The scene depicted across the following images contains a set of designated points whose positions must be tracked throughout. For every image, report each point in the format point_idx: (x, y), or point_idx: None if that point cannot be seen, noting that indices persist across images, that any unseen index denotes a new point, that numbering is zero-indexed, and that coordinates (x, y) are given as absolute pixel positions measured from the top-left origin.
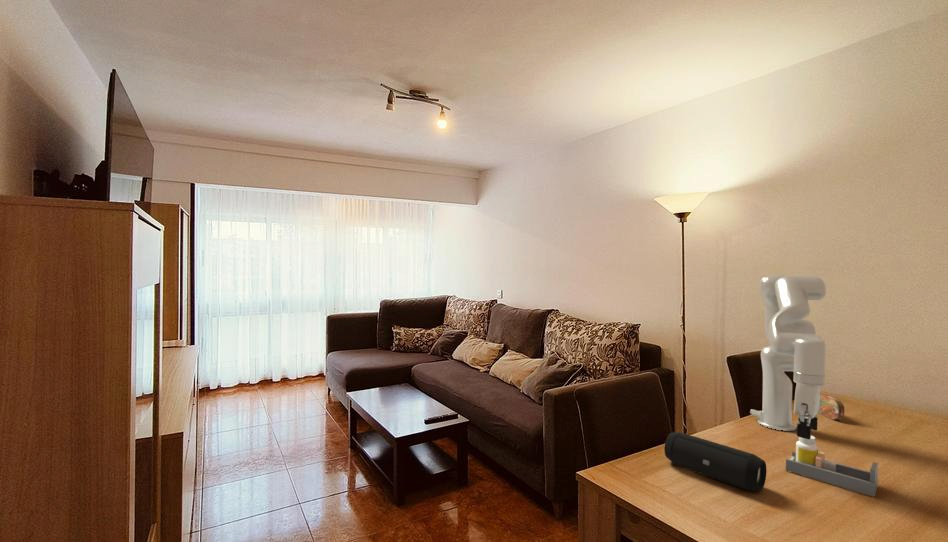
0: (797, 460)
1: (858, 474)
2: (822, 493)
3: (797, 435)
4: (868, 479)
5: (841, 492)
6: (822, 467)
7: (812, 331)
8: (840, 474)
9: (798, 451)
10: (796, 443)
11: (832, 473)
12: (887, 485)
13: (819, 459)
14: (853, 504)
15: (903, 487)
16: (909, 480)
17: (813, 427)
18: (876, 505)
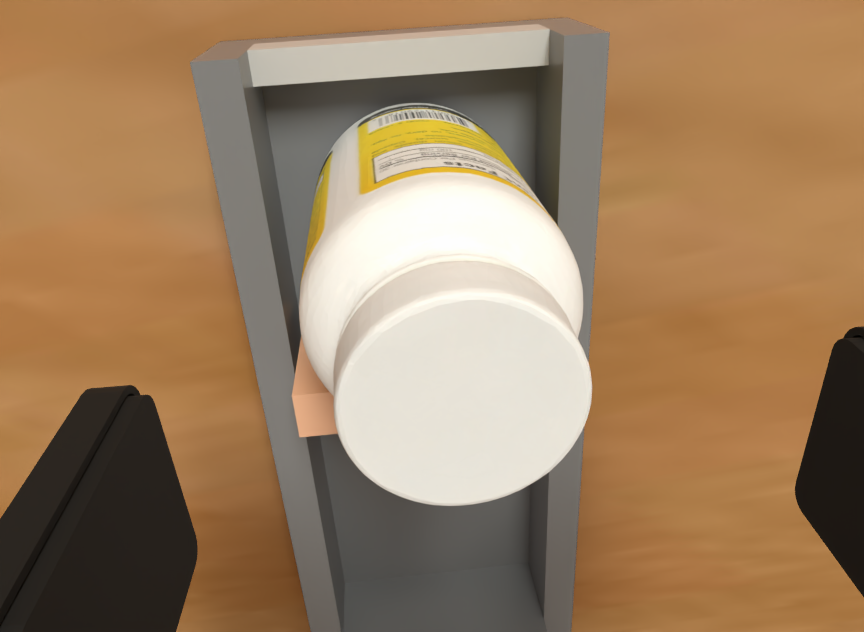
0: (335, 158)
1: (536, 526)
2: (23, 396)
3: (86, 398)
4: (531, 556)
5: (197, 465)
6: None
7: None
8: (295, 511)
9: (324, 210)
10: (374, 204)
11: (277, 462)
12: (610, 581)
13: (298, 424)
14: None
15: (648, 626)
16: (801, 621)
17: (831, 493)
18: (197, 610)
